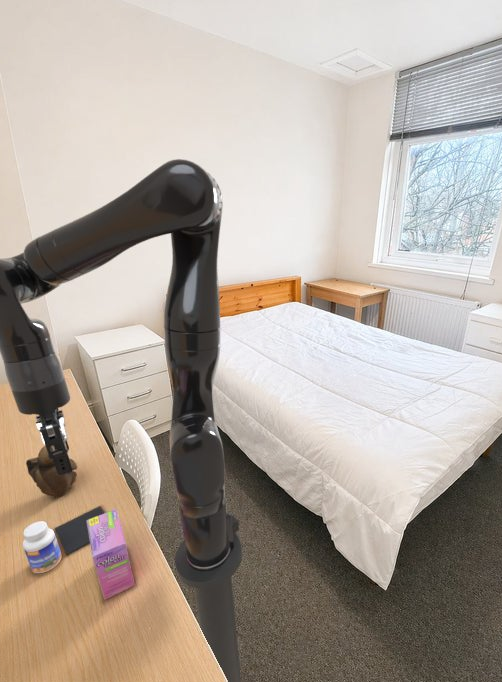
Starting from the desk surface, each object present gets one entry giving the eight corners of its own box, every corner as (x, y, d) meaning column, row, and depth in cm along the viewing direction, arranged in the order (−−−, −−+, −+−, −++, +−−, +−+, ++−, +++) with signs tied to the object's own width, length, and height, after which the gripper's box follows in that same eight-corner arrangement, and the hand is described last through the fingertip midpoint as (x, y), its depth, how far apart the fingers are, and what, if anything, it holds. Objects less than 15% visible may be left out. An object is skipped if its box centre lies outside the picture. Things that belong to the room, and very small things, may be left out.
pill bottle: (31, 579, 72) (17, 544, 68) (32, 559, 76) (19, 525, 72) (62, 565, 74) (50, 531, 71) (62, 547, 79) (50, 514, 75)
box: (136, 585, 71) (125, 542, 66) (104, 601, 68) (91, 557, 63) (126, 548, 78) (116, 508, 74) (98, 561, 76) (85, 519, 71)
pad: (100, 507, 90) (99, 505, 90) (115, 529, 83) (114, 527, 83) (55, 529, 83) (54, 528, 83) (67, 555, 77) (66, 554, 77)
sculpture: (83, 461, 101) (69, 436, 90) (81, 497, 95) (66, 475, 84) (39, 468, 98) (19, 443, 86) (34, 507, 92) (12, 485, 80)
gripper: (66, 387, 56) (91, 472, 62) (61, 365, 67) (83, 439, 73) (7, 400, 52) (40, 490, 58) (12, 375, 63) (39, 452, 69)
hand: (64, 461), depth 65 cm, fingers open, 8 cm apart
